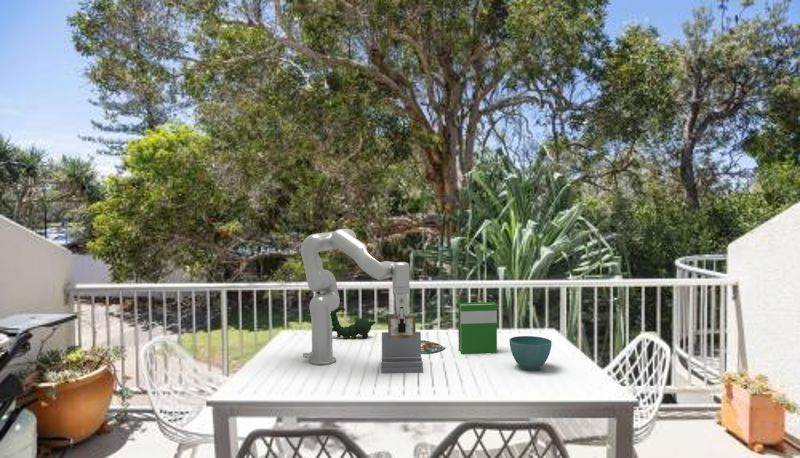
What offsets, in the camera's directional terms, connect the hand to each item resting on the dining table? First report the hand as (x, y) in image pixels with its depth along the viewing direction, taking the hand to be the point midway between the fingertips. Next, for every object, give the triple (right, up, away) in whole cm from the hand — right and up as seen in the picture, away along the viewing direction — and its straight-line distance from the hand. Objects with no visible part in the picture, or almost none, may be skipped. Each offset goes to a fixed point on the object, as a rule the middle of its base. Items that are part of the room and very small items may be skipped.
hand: (401, 330), depth 244 cm
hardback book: (+38, -16, +29) cm, 50 cm away
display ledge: (0, -17, +3) cm, 17 cm away
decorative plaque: (+8, -17, +40) cm, 44 cm away
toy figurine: (-27, -16, +62) cm, 69 cm away
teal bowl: (+57, -17, 0) cm, 59 cm away
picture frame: (0, -3, 0) cm, 3 cm away
